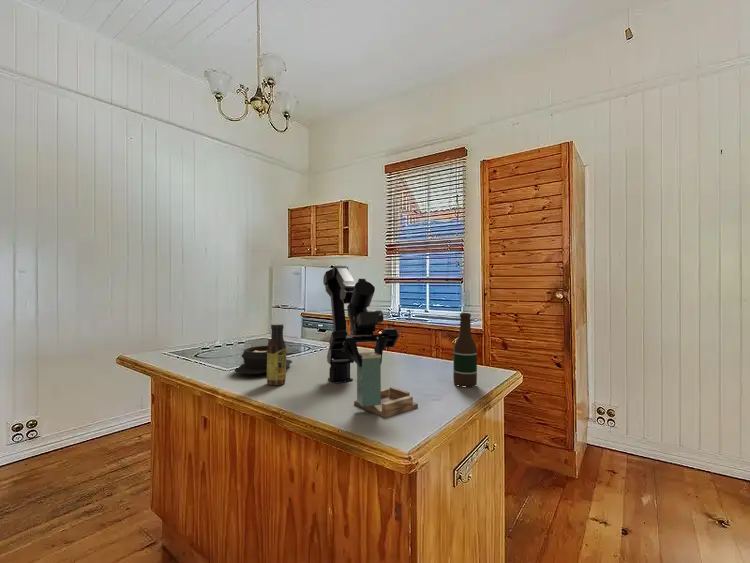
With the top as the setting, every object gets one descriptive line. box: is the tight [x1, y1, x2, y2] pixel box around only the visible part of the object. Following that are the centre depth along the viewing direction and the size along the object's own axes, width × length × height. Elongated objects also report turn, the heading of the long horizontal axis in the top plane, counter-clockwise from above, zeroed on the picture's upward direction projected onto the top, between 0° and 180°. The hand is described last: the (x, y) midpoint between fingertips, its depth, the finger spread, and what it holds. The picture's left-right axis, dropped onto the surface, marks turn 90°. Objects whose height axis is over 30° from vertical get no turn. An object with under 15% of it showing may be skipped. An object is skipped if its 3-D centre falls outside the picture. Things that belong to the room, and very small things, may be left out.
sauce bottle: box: [266, 323, 287, 386], centre depth 127 cm, size 7×6×20 cm
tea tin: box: [356, 351, 382, 407], centre depth 101 cm, size 5×5×13 cm
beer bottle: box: [452, 312, 478, 388], centre depth 127 cm, size 8×8×24 cm
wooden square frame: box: [353, 386, 419, 419], centre depth 105 cm, size 12×13×4 cm
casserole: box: [233, 345, 293, 375], centre depth 146 cm, size 25×19×8 cm
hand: (370, 365), depth 100 cm, fingers closed on tea tin, 5 cm apart
